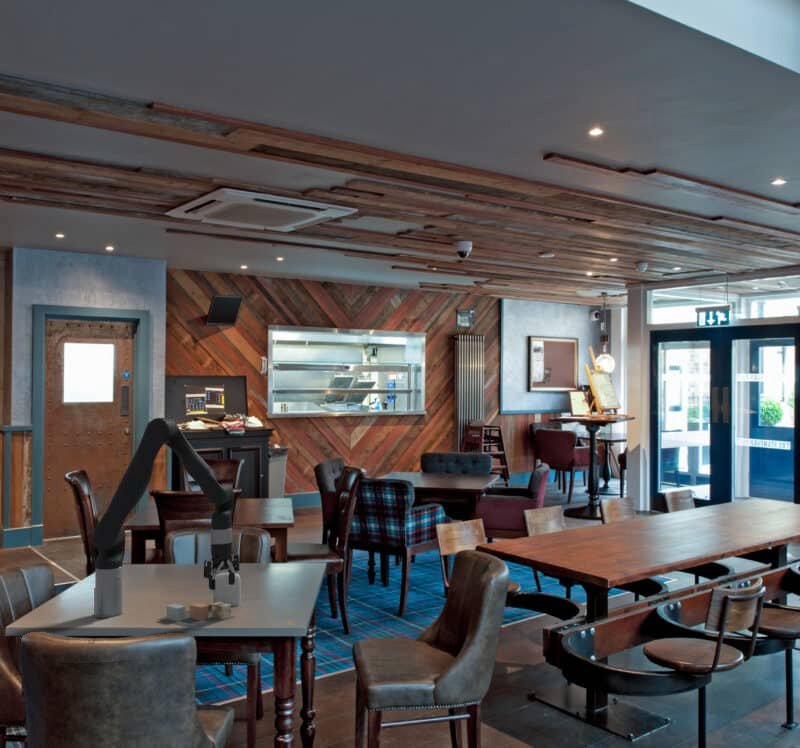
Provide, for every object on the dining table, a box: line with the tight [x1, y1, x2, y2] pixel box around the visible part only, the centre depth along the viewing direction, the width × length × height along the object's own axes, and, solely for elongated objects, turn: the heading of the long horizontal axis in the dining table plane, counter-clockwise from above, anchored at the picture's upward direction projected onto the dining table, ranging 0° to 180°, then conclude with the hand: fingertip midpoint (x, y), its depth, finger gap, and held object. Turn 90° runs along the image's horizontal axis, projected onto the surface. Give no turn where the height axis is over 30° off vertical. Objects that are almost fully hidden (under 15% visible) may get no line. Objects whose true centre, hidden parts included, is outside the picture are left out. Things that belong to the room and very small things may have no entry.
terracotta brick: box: [188, 602, 209, 621], centre depth 279 cm, size 6×3×4 cm, turn 53°
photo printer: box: [212, 572, 242, 607], centre depth 296 cm, size 10×4×12 cm, turn 95°
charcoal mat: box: [157, 609, 235, 631], centre depth 278 cm, size 20×18×1 cm
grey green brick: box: [166, 603, 186, 622], centre depth 277 cm, size 6×3×4 cm, turn 53°
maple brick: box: [211, 602, 232, 620], centre depth 280 cm, size 6×3×4 cm, turn 53°
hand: (222, 587), depth 280 cm, fingers open, 8 cm apart
